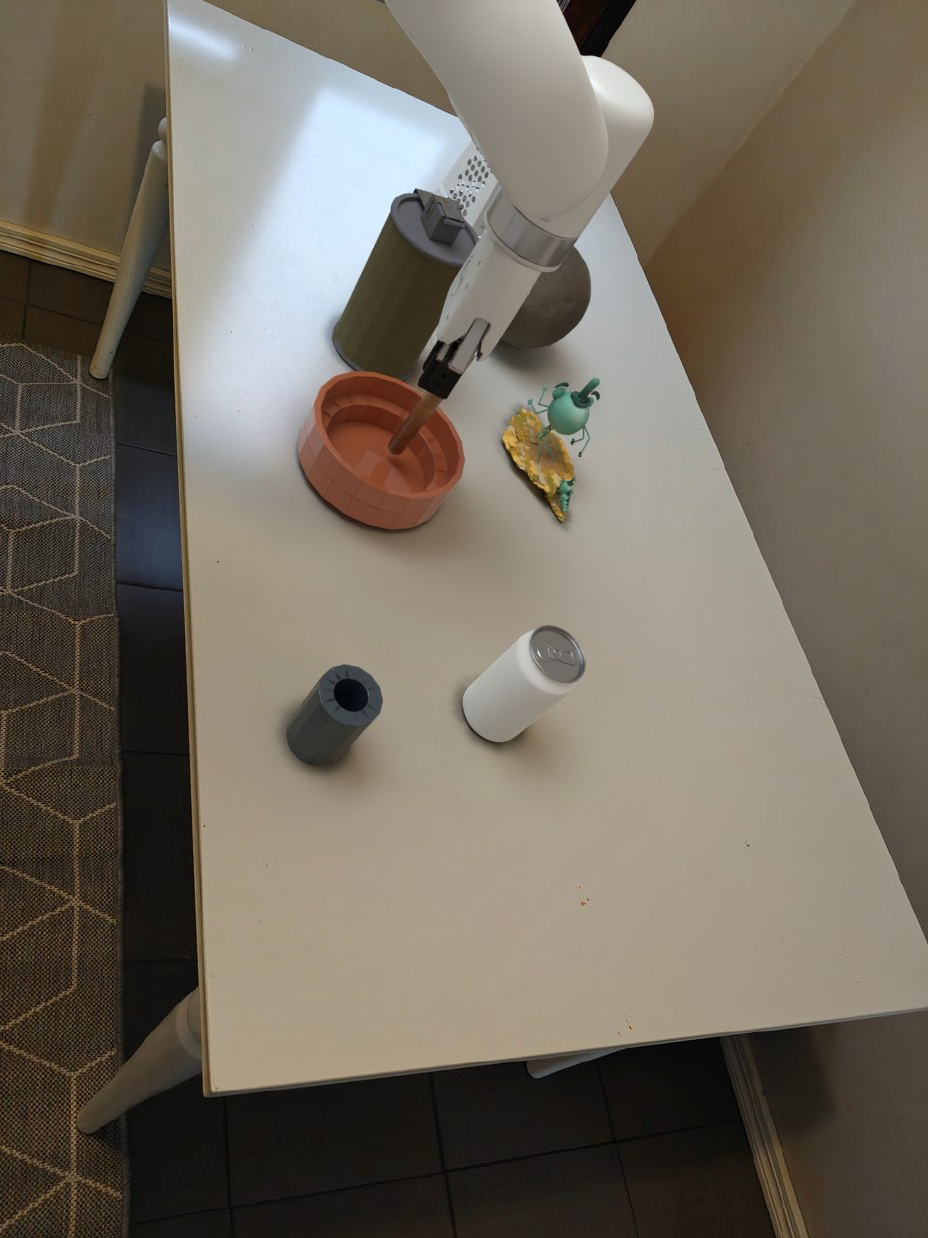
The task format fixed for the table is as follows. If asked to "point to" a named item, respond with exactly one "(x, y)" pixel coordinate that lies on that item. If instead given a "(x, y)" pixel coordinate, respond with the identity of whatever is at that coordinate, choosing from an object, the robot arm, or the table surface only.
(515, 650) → the can
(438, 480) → the bowl
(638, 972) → the table surface
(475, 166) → the grater
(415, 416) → the stick
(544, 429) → the insect on leaf figurine
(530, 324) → the cantaloupe
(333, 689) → the utensil pot
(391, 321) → the canister
